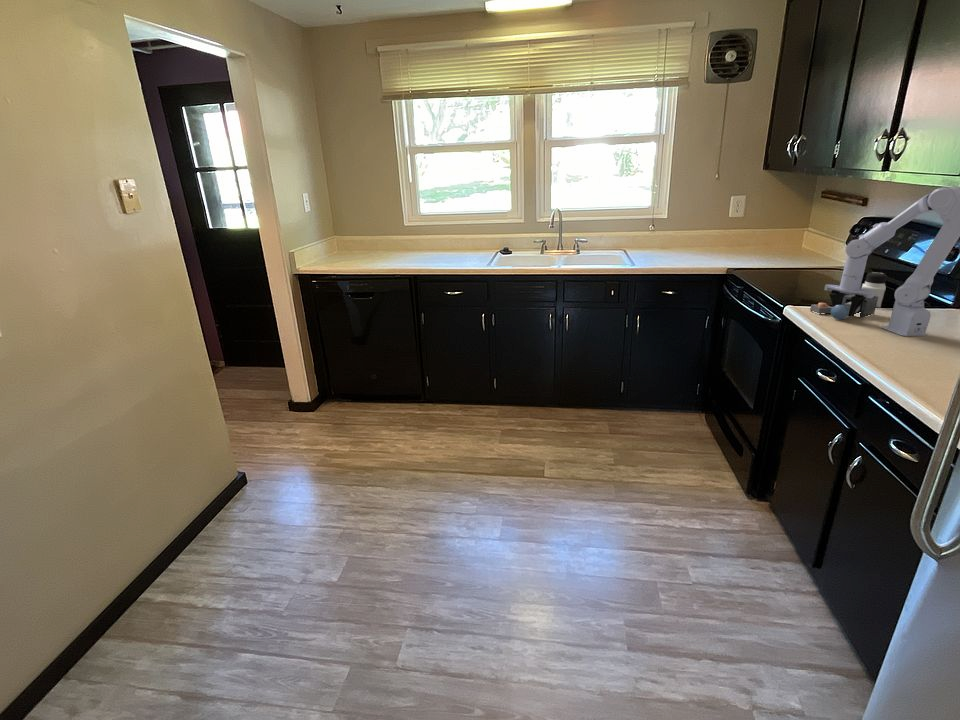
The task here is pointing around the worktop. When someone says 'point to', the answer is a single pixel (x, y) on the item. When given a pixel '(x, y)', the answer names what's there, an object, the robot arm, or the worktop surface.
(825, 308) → the block
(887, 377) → the worktop surface
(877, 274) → the medicine bottle
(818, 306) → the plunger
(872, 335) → the worktop surface
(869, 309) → the block
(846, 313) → the cylinder
